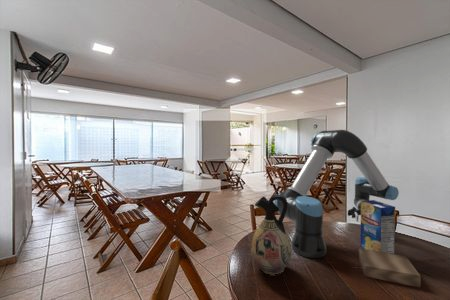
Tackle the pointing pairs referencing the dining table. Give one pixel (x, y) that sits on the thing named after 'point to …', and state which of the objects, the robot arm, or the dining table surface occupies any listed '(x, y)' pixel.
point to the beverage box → (377, 226)
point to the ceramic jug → (271, 238)
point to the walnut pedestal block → (389, 267)
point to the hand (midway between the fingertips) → (374, 220)
